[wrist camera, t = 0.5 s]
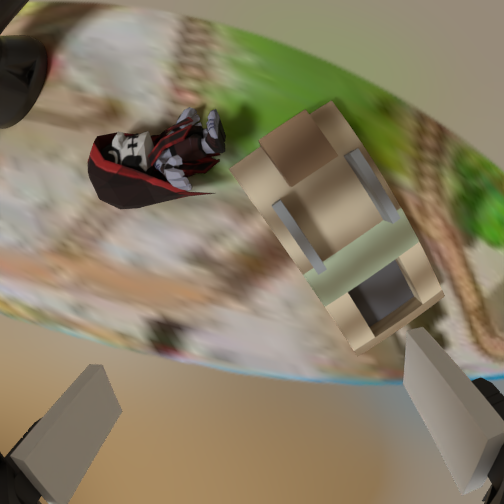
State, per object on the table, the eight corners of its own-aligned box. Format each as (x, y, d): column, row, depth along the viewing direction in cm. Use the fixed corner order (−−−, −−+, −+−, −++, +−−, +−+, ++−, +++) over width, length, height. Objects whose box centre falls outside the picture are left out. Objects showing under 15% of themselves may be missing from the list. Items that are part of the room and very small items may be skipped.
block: (260, 146, 32) (258, 140, 27) (300, 119, 31) (305, 109, 26) (289, 186, 32) (291, 187, 28) (329, 159, 32) (338, 155, 27)
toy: (200, 130, 23) (54, 185, 25) (237, 214, 30) (106, 246, 33) (211, 74, 30) (93, 120, 33) (237, 143, 37) (129, 175, 40)
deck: (232, 170, 35) (224, 167, 30) (326, 106, 33) (336, 93, 27) (352, 345, 39) (363, 369, 33) (434, 288, 37) (456, 304, 31)
